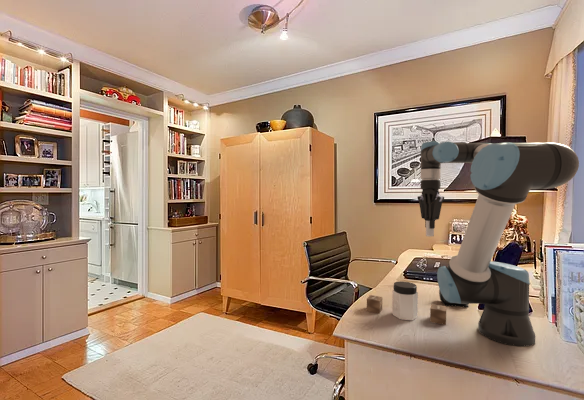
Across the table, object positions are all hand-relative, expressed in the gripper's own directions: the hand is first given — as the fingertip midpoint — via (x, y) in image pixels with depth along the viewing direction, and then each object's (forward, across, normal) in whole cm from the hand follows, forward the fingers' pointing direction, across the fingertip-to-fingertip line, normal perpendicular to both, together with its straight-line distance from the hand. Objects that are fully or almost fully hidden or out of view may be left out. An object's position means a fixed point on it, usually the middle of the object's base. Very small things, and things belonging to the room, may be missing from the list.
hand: (429, 236), depth 124 cm
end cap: (+29, -3, -10) cm, 31 cm away
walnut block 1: (+29, -15, +9) cm, 33 cm away
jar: (+29, -8, +18) cm, 35 cm away
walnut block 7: (+29, 0, +26) cm, 39 cm away
